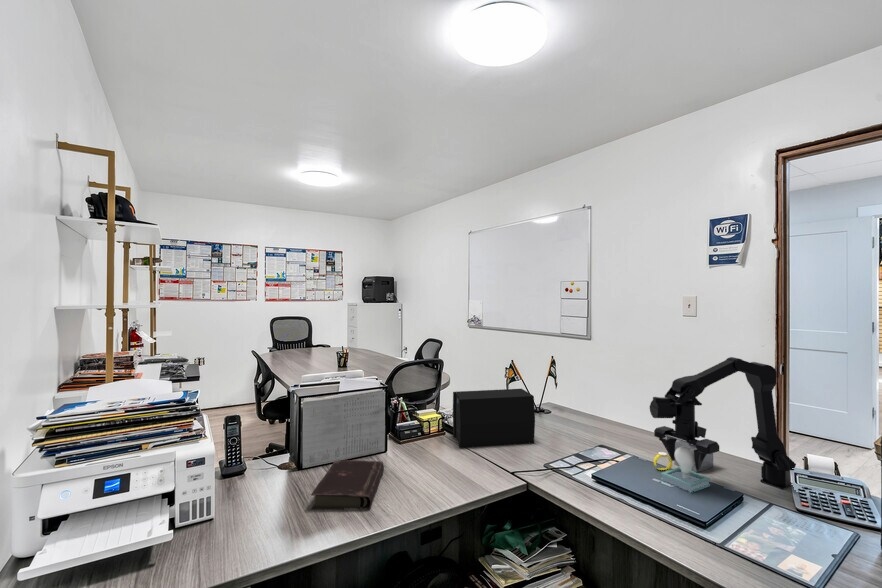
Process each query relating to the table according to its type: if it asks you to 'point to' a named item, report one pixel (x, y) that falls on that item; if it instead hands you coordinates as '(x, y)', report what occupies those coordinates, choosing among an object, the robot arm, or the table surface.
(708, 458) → the unit
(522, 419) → the uninterruptible power supply
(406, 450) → the table surface
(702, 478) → the tray
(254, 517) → the table surface
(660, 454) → the watch
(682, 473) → the lightbulb
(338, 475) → the diary
